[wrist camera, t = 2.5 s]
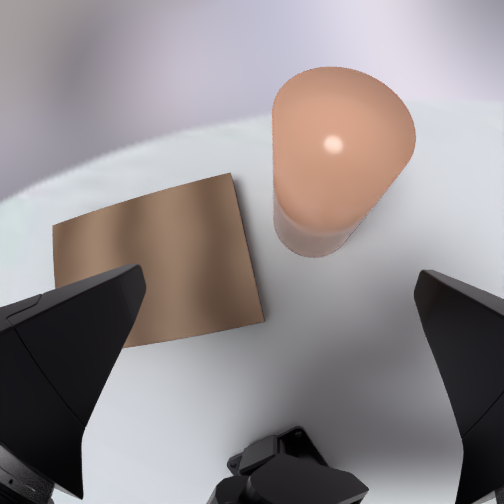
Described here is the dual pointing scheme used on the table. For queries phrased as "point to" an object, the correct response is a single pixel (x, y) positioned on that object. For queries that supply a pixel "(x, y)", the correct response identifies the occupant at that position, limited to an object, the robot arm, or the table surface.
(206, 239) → the shelf board
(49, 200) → the table surface
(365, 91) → the peach cylinder
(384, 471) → the table surface
